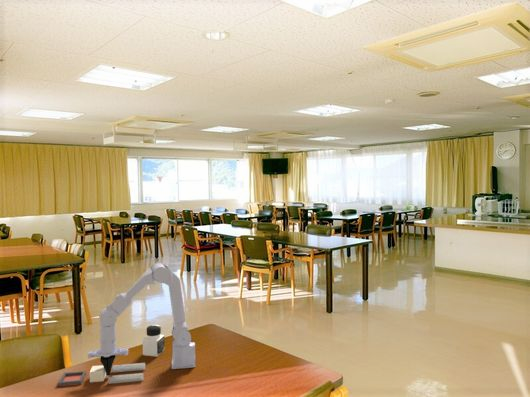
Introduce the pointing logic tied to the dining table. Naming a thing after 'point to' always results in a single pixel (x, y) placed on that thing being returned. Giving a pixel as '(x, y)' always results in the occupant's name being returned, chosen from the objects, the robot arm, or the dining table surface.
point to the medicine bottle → (153, 341)
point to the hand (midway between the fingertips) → (108, 374)
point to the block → (97, 373)
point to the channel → (129, 376)
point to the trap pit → (72, 378)
